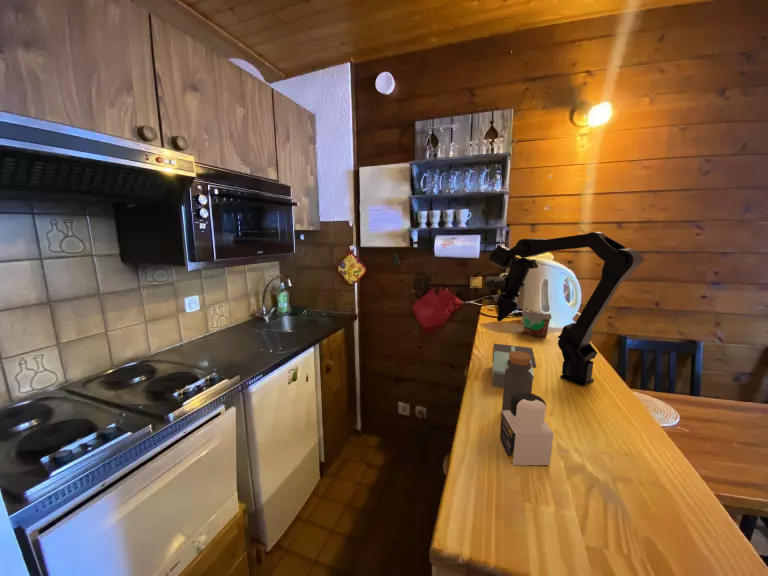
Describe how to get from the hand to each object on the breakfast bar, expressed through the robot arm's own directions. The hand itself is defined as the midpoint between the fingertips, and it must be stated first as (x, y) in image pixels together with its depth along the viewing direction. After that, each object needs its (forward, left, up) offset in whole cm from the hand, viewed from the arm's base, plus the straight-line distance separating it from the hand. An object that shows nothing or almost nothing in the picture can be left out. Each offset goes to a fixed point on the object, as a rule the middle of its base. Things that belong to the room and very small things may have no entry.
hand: (499, 315), depth 109 cm
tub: (-15, +13, -13) cm, 24 cm away
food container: (+4, -26, -14) cm, 29 cm away
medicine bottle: (-36, +38, -14) cm, 54 cm away
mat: (-5, -2, -13) cm, 14 cm away
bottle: (-27, +28, -13) cm, 41 cm away
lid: (-15, +13, -10) cm, 23 cm away
